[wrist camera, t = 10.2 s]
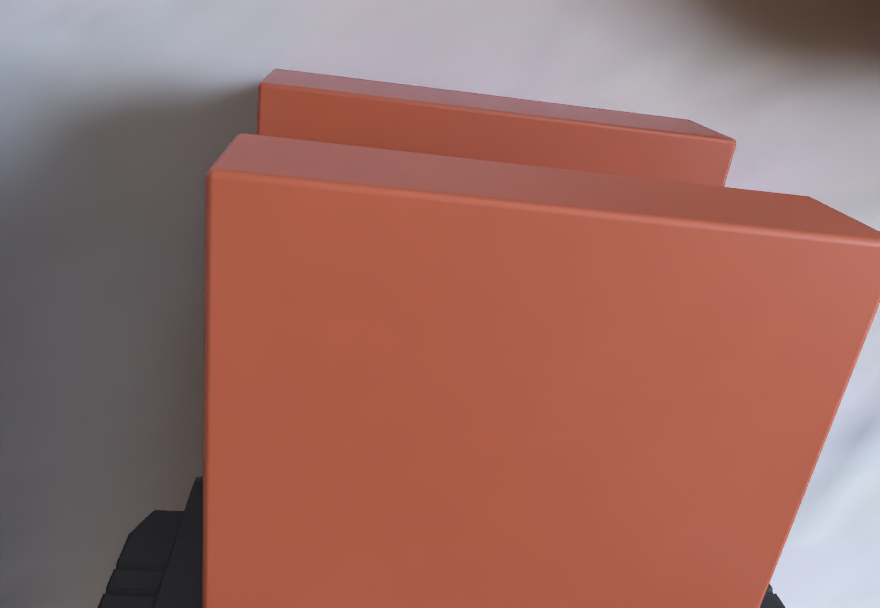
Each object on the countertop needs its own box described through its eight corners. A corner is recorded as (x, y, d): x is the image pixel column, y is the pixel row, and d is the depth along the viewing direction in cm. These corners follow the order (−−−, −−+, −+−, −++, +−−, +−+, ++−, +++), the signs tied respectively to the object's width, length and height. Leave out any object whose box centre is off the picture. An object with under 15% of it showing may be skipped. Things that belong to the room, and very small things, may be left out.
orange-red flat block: (284, 57, 12) (258, 81, 9) (653, 103, 13) (739, 140, 10) (256, 648, 17) (233, 789, 14) (524, 654, 18) (555, 788, 15)
